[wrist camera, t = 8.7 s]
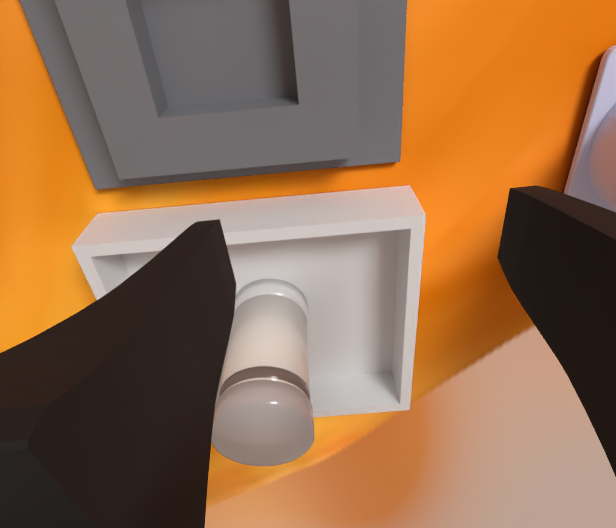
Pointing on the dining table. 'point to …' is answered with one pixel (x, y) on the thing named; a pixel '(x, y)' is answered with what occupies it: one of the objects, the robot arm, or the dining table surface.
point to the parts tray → (304, 278)
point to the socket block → (224, 84)
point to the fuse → (266, 378)
